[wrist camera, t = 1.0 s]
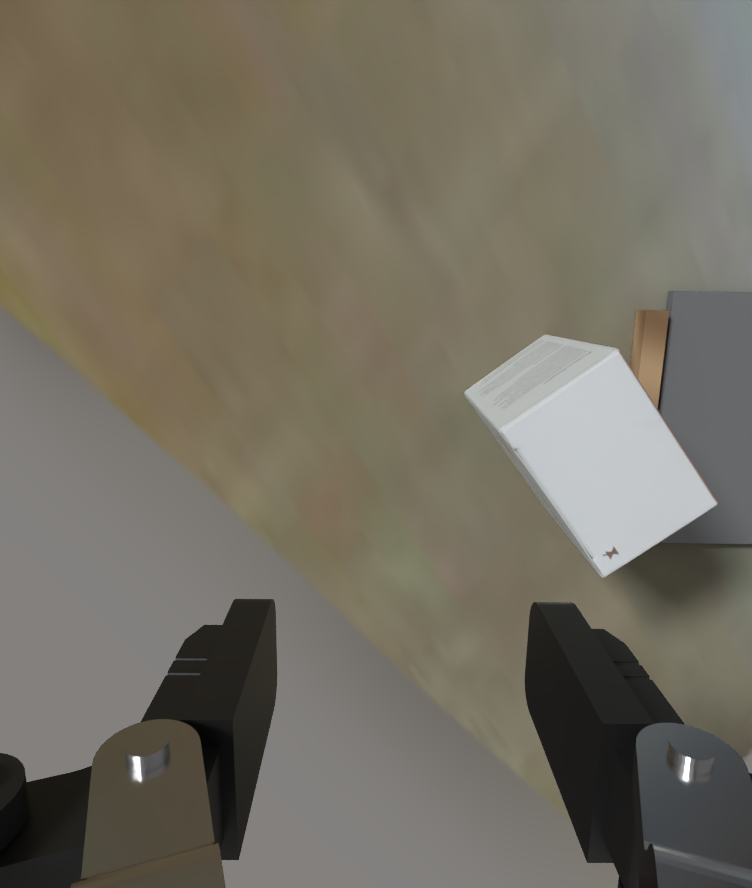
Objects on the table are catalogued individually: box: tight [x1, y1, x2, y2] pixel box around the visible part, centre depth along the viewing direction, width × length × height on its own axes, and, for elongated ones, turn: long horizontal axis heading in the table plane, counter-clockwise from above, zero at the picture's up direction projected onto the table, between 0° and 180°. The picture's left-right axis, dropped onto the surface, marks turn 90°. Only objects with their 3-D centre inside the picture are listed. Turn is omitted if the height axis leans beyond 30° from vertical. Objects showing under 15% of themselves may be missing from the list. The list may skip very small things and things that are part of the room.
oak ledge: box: [630, 310, 669, 409], centre depth 34 cm, size 12×1×1 cm, turn 179°
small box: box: [464, 335, 718, 578], centre depth 30 cm, size 8×6×10 cm
